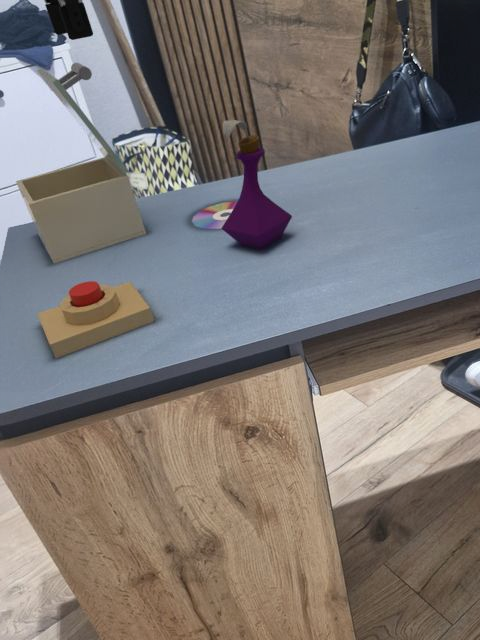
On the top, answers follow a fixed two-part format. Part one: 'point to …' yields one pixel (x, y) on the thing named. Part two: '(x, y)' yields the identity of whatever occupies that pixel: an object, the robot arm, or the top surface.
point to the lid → (75, 111)
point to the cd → (213, 216)
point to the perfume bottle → (253, 199)
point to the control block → (94, 319)
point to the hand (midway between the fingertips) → (74, 35)
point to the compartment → (82, 208)
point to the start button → (86, 294)
